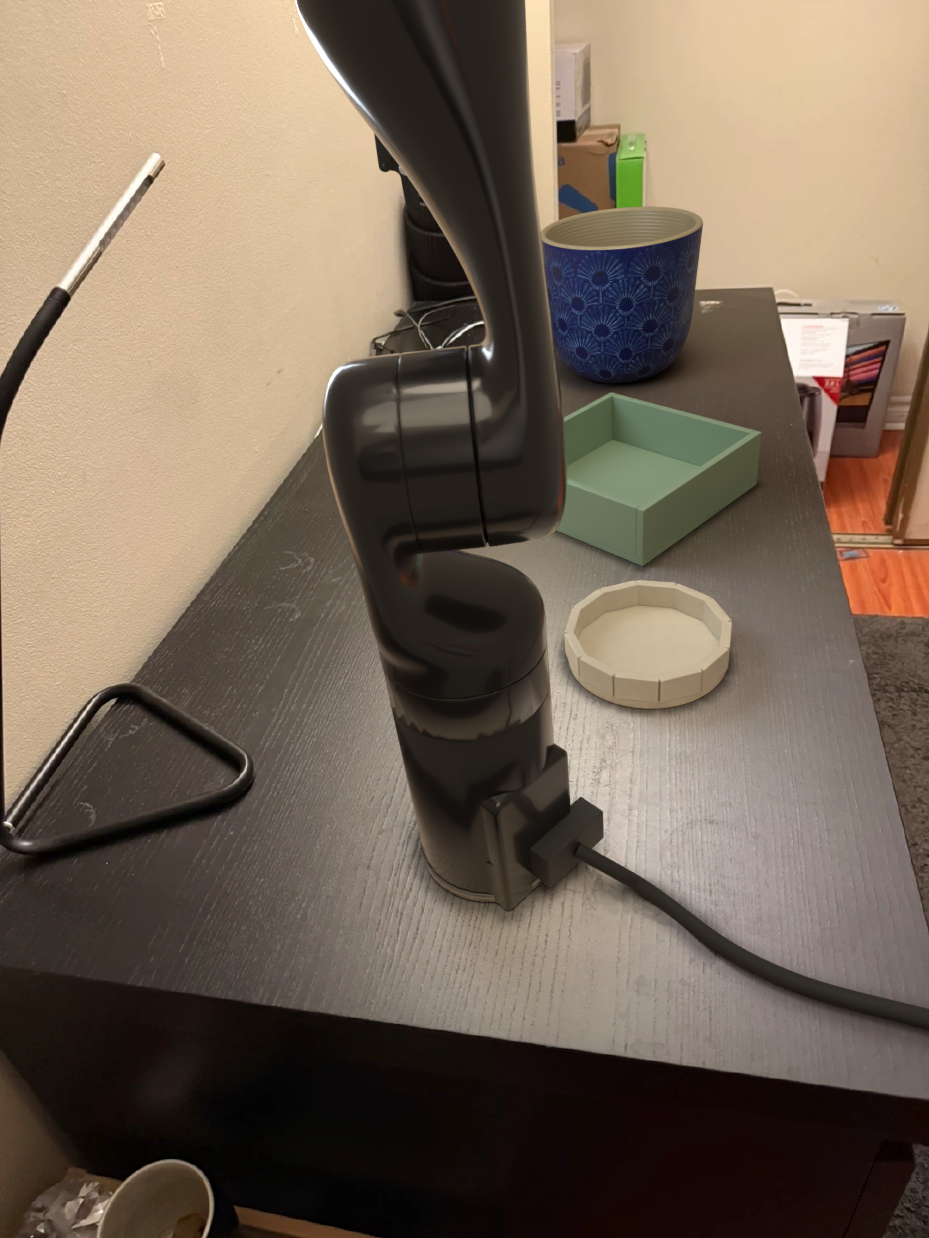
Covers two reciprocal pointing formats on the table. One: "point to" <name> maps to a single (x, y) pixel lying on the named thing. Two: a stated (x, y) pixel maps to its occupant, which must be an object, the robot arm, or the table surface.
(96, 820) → the table surface
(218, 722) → the table surface
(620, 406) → the tote
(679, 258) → the planter
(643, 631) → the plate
